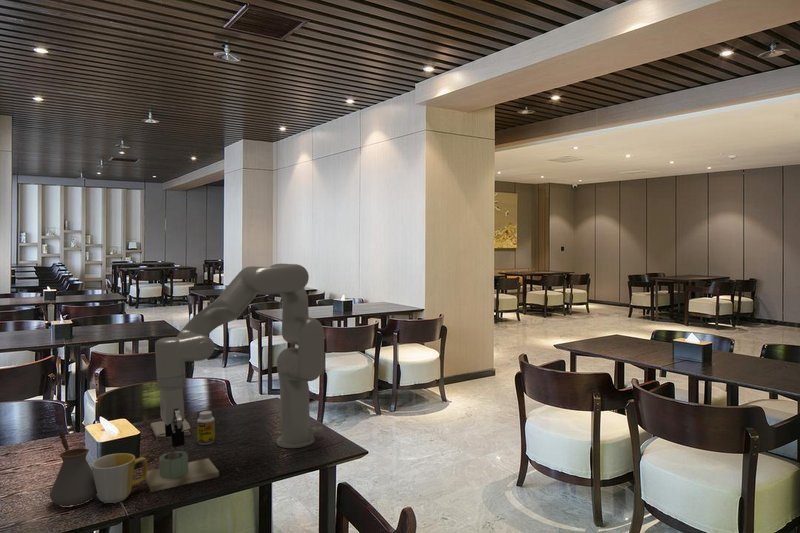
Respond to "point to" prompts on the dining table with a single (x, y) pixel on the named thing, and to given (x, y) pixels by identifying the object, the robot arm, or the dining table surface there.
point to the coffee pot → (73, 477)
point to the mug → (116, 476)
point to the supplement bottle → (205, 428)
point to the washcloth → (159, 430)
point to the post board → (195, 473)
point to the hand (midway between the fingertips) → (174, 440)
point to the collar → (173, 465)
